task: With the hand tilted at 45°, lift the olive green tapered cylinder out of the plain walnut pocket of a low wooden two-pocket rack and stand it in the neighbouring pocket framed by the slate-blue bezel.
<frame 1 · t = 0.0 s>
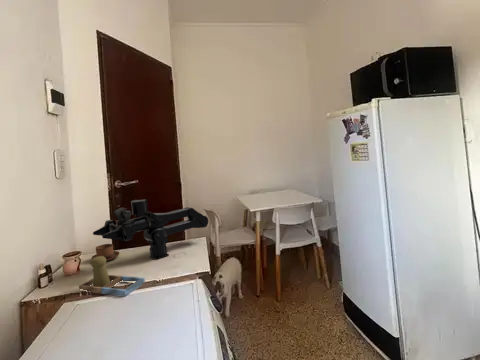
hand: (97, 235, 133), 17 cm above the table, tool horizontal, fingers open, 9 cm apart
olive green tapered cylinder: (102, 286, 124), resting in two-pocket rack
two-pocket rack: (112, 287, 122), on the table
brown hat: (106, 259, 155), on the table
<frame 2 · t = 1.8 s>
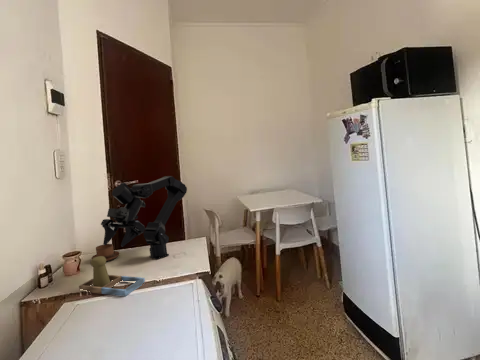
hand: (112, 245, 129), 13 cm above the table, tool tilted 45°, fingers open, 9 cm apart
nothing on the table moved.
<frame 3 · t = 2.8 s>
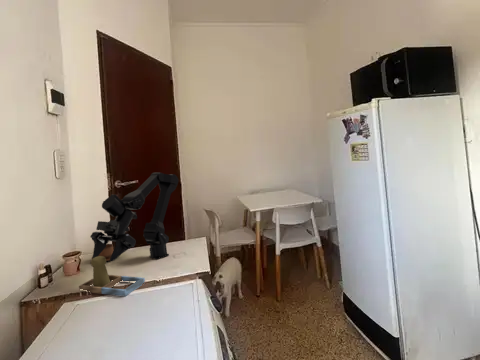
hand: (102, 259, 124), 9 cm above the table, tool tilted 45°, fingers open, 9 cm apart
nothing on the table moved.
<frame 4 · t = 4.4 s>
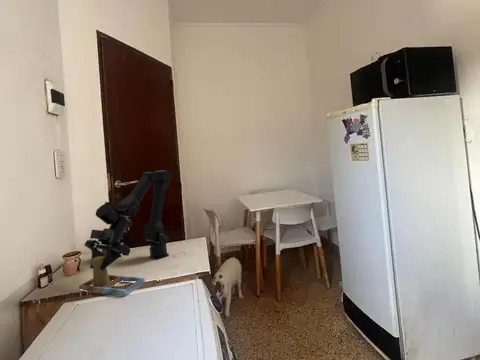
hand: (96, 268, 122), 7 cm above the table, tool tilted 45°, fingers closed on olive green tapered cylinder, 5 cm apart
olive green tapered cylinder: (102, 286, 124), resting in two-pocket rack, touching gripper
everything else where it was.
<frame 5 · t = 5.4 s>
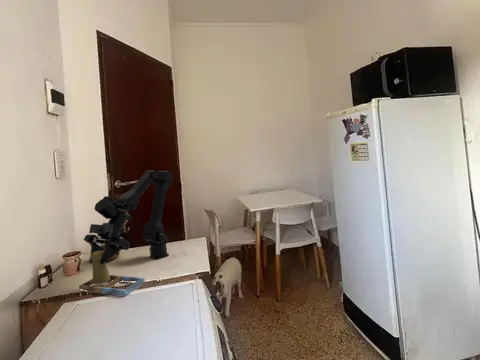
hand: (95, 263, 122), 9 cm above the table, tool tilted 45°, fingers closed on olive green tapered cylinder, 5 cm apart
olive green tapered cylinder: (101, 281, 124), point 2 cm above the table, touching gripper
everything else where it was.
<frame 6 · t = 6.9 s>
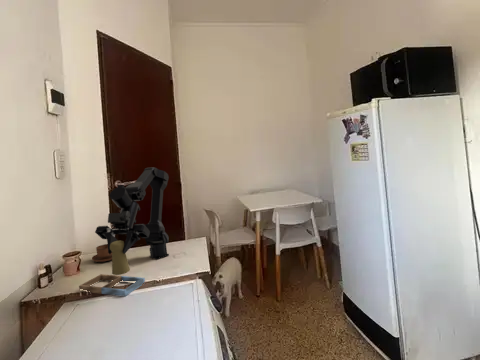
hand: (116, 253, 118), 13 cm above the table, tool tilted 45°, fingers closed on olive green tapered cylinder, 5 cm apart
olive green tapered cylinder: (121, 271, 120), point 6 cm above the table, touching gripper
everything else where it was.
when the fingers open (8 cm above the table, at t = 8.8 s): olive green tapered cylinder drops 1 cm, resting in two-pocket rack.
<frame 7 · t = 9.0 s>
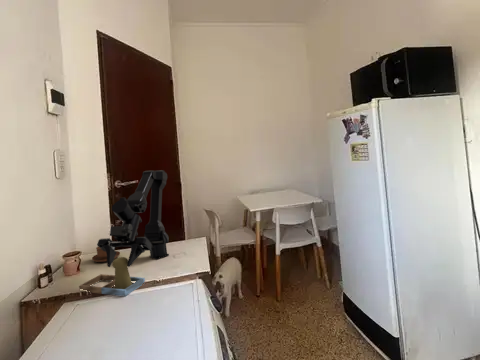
hand: (118, 266, 118), 9 cm above the table, tool tilted 45°, fingers open, 7 cm apart
olive green tapered cylinder: (123, 288, 121), resting in two-pocket rack
everything else where it was.
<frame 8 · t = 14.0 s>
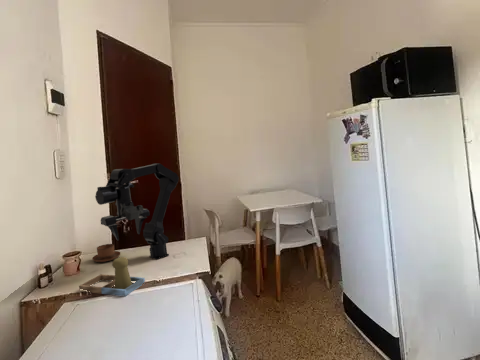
hand: (128, 237, 139), 13 cm above the table, tool pointing down, fingers open, 9 cm apart
nothing on the table moved.
at the end: olive green tapered cylinder 0.2 cm from the target spot, resting in two-pocket rack; olive green tapered cylinder tilted 0°; the gripper is holding nothing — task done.
